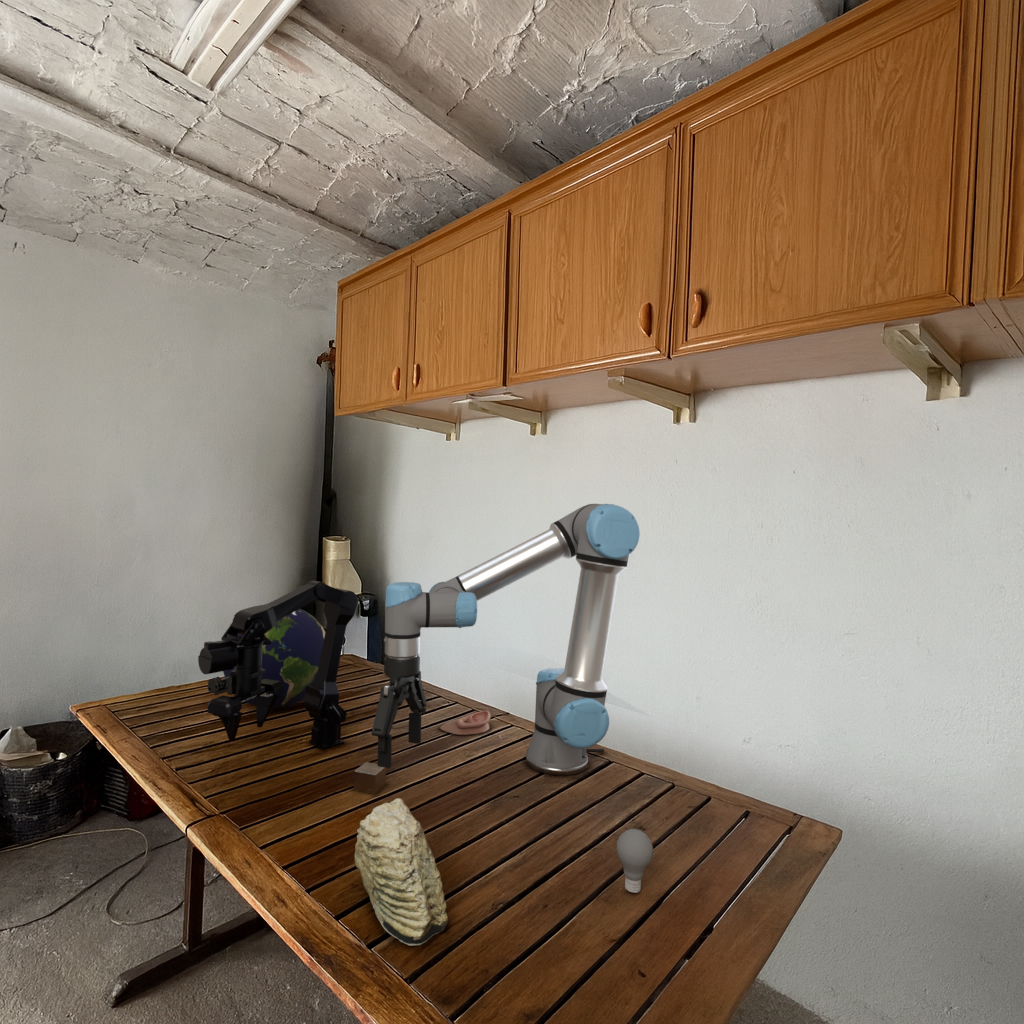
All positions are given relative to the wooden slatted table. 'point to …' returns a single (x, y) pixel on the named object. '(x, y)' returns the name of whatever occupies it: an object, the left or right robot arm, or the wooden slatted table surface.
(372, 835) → the fossil
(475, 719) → the anatomical model
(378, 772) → the grey metal block
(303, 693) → the globe
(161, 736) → the wooden slatted table surface
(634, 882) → the light bulb
